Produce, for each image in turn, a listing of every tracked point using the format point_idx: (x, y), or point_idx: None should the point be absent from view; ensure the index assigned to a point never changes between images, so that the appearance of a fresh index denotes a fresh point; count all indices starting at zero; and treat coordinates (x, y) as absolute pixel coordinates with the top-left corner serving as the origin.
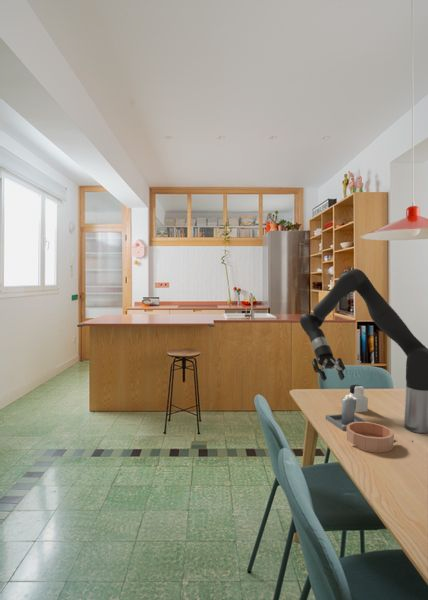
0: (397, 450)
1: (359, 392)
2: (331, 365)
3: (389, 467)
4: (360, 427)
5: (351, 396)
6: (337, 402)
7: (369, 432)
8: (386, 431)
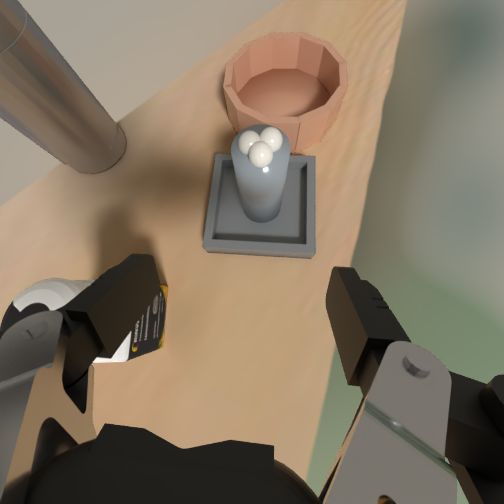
0: None
1: (82, 282)
2: (127, 459)
3: (317, 27)
4: None
5: None
6: None
7: None
8: (233, 80)
